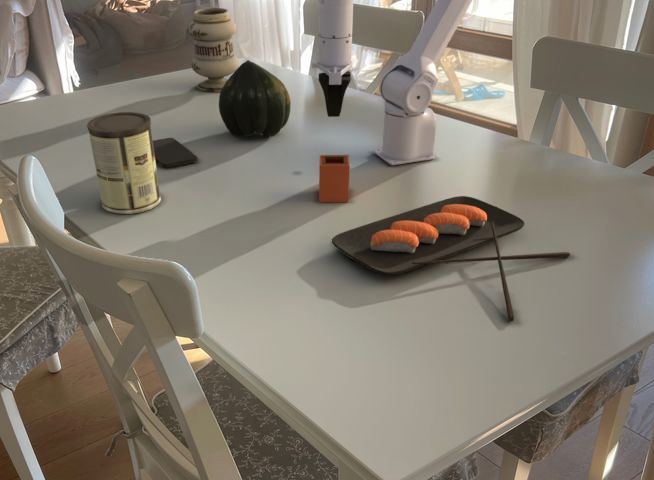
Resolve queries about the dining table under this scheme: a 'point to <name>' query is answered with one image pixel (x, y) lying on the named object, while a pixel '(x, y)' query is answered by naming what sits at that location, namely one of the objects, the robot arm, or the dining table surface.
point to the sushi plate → (433, 237)
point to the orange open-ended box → (334, 178)
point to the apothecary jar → (213, 47)
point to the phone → (172, 153)
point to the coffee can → (125, 162)
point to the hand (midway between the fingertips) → (333, 115)
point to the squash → (254, 102)
